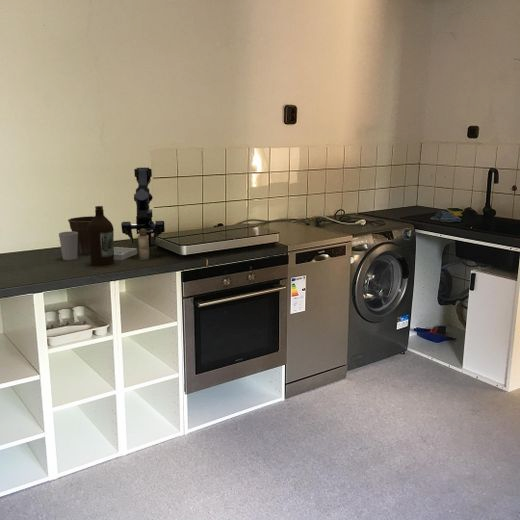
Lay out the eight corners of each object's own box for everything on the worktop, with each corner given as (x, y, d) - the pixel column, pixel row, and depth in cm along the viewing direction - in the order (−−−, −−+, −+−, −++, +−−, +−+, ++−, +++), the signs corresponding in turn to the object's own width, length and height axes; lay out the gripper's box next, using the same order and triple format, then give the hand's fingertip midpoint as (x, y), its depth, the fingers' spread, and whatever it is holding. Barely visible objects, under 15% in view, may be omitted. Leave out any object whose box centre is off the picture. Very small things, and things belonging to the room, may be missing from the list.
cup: (82, 257, 262) (80, 231, 259) (75, 261, 254) (73, 234, 252) (65, 257, 263) (63, 231, 260) (57, 261, 255) (55, 234, 252)
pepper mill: (142, 258, 260) (140, 227, 257) (151, 259, 259) (149, 227, 256) (137, 260, 256) (135, 229, 253) (146, 261, 255) (145, 229, 252)
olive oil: (84, 265, 248) (80, 206, 242) (104, 260, 256) (100, 204, 251) (100, 268, 242) (97, 208, 236) (120, 264, 250) (117, 206, 245)
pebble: (117, 257, 261) (116, 250, 260) (123, 257, 260) (122, 251, 259) (113, 258, 258) (113, 252, 257) (119, 259, 257) (119, 252, 256)
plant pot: (64, 256, 266) (61, 221, 262) (79, 249, 281) (76, 215, 278) (98, 257, 264) (96, 221, 260) (111, 249, 280) (109, 216, 276)
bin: (113, 253, 271) (113, 247, 271) (137, 254, 268) (137, 248, 268) (97, 259, 258) (97, 253, 258) (122, 261, 255) (122, 254, 254)
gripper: (120, 203, 256) (120, 232, 248) (163, 202, 259) (164, 231, 251) (122, 218, 265) (122, 247, 257) (164, 217, 268) (165, 245, 260)
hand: (143, 242), depth 256 cm, fingers open, 9 cm apart
